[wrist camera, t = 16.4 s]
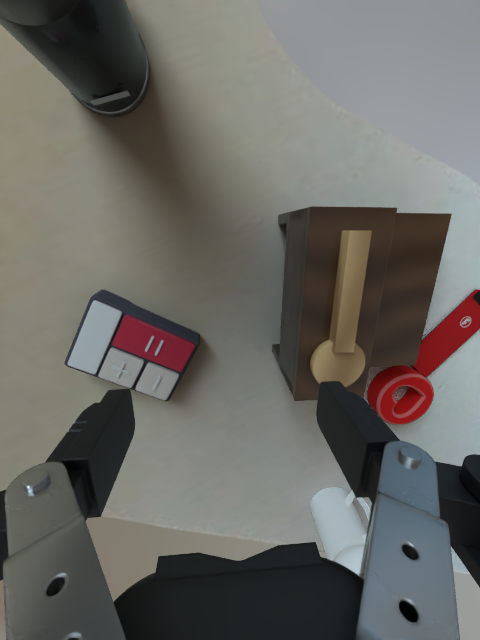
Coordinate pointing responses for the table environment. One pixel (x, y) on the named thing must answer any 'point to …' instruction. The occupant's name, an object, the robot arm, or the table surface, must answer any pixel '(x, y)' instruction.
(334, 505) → the cup
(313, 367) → the spoon
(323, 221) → the shelf
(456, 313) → the electronic device
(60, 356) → the table surface
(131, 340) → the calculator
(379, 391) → the decorative ornament
